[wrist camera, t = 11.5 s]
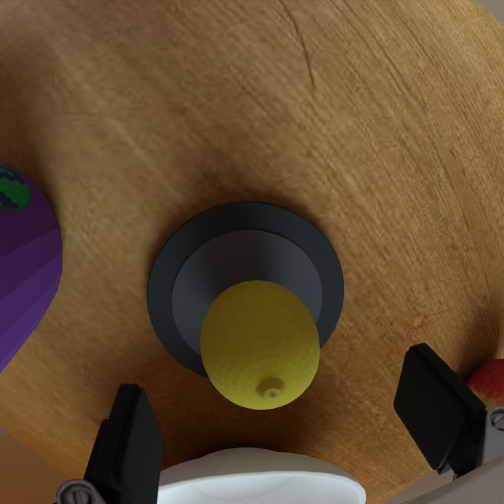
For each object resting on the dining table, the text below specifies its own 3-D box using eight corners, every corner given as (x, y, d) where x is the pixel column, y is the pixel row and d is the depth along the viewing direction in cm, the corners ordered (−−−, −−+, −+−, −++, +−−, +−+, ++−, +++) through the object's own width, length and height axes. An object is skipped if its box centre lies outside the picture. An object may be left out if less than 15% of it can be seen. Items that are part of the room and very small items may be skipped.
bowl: (154, 372, 20) (138, 445, 14) (379, 413, 24) (412, 466, 17) (125, 494, 24) (118, 543, 18) (288, 515, 28) (299, 558, 22)
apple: (466, 348, 23) (518, 393, 16) (509, 342, 25) (555, 377, 17) (434, 412, 25) (472, 461, 18) (481, 399, 27) (517, 438, 19)
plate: (150, 193, 17) (147, 195, 16) (354, 211, 19) (360, 214, 18) (152, 372, 20) (151, 380, 19) (320, 375, 22) (324, 383, 21)
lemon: (310, 318, 19) (360, 403, 12) (231, 358, 19) (243, 456, 12) (270, 242, 18) (311, 304, 10) (183, 289, 18) (166, 376, 10)
